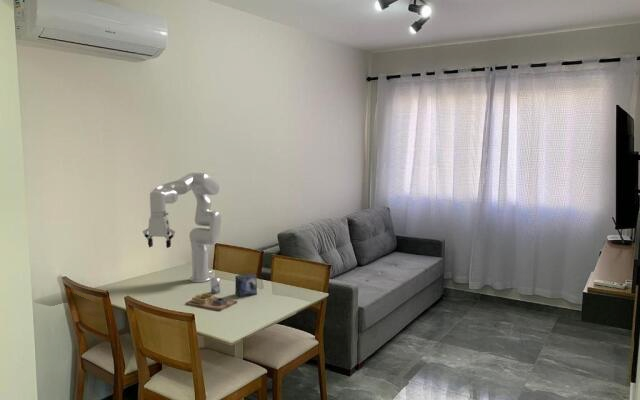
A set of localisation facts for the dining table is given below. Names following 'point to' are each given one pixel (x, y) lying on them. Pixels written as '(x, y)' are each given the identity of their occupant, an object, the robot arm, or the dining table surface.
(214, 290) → the pipe fitting
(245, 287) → the small box
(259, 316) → the dining table surface
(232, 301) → the fitting board
